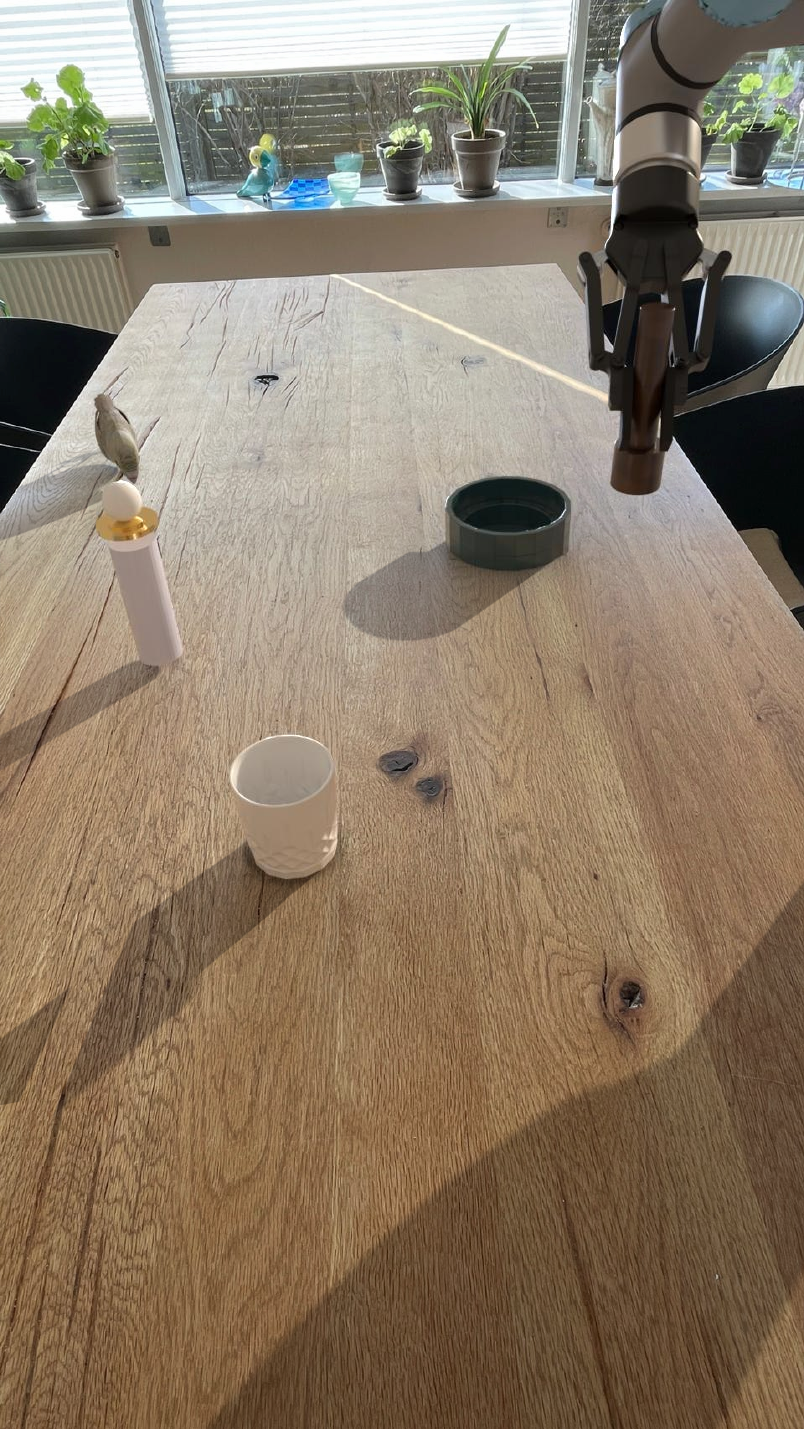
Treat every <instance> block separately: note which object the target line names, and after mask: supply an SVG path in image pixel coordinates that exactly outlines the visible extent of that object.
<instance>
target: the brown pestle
mask: <svg viewBox="0 0 804 1429" xmlns="http://www.w3.org/2000/svg"><path fill="white" fill-rule="evenodd" d="M674 312H675V307H674V306H673V305H671V304H669V303H664V302H662V301H650V302H645V303H643V304H641V305H640V307H639V314H638V316H639V317H638V323H637V333H636V340H635V350H634V359H633V366H634V377H633V400H632V424H631V441H630V444H629V447H628V450H627V451H619V437H617V438H616V439H615V441H614V444H613V454H612V463H611V471H610V482H609V484H610V486H611V488H612V489H613V490H614V491H616V492H618V493H620V494H625V495H629V496H647V495H650V494H653V493H656V492H658V490H659V489H660V488H661V484H662V478H663V477H662V476H663V471H664V464H665V458H666V457H665V456H666V452H659V444H660V436H659V437H658V435H659V428H660V418H661V405H662V398H663V391H664V383H665V376H666V369H667V367H668V363H669V362H668V361H669V348H670V341H671V334H672V326H673V319H674Z"/></svg>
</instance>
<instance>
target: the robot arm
mask: <svg viewBox="0 0 804 1429" xmlns="http://www.w3.org/2000/svg"><path fill="white" fill-rule="evenodd" d="M619 43H620V44H619V50H618V54H617V58H616V63H617V64H616V66H615V70H616V73H615V77H616V93H615V94H616V95H615V98H616V100H615V126H614V127H615V130H614V131H615V133H614V153H613V172H612V174H613V175H612V188H613V191H612V196H611V197H612V198H611V218H610V234H609V237H608V239H607V240H606V242H605V244H604V248H603V249H600V250H598V251H596V252H593V253H591V252H589V251H583V252H580V254H579V255H578V260H577V269H576V276H577V278H578V280H579V282H580V285H581V287H582V289H583V292H584V304H585V305H584V306H585V320H586V323H585V324H586V340H587V354H588V355H587V356H588V357H587V358H588V367H589V369H590V370H591V371H593V372H597V371H601V372H603V373H605V374H606V375H607V377H608V393H607V396H608V397H607V407H608V409H609V412H619V429H618V430H619V434H618V438H619V451H627V450H628V447H629V444H630V441H631V424H632V400H633V377H634V365H633V366H632V365H631V366H627V365H626V361H627V355H628V352H629V345H630V341H631V335H632V331H633V324H634V319H635V314H636V309H637V304H638V299H639V295H645V294H647V293H648V294H649V293H653V294H656V295H660V299H661V301H660V302H664V303H669V304H671V305H673V306H674V307H675V312H674V319H673V326H672V334H671V341H670V348H669V355H668V361H669V362H668V363H669V366H667V369H666V376H665V383H664V391H663V398H662V405H661V413H660V420H659V438H660V444H659V452H665V453H668V452H669V450H670V448H671V446H672V444H673V441H674V424H675V422H674V421H675V412H676V413H677V412H678V413H681V412H683V410H684V407H685V406H686V403H687V401H688V385H689V374H690V373H693V372H697V373H698V372H702V371H704V370H705V369H706V367H707V365H708V363H709V360H710V358H711V355H712V351H713V345H714V336H715V331H716V330H715V329H716V323H717V316H718V307H719V301H720V294H721V287H722V282H723V280H724V278H725V276H726V274H727V272H728V269H729V267H730V264H731V262H732V259H733V255H732V254H733V253H731V251H729V250H726V249H725V250H721V251H720V252H719V253H717V252H715V251H712V250H710V249H708V248H707V247H705V243H704V240H703V237H702V236H701V234H700V230H699V219H700V196H701V195H700V194H701V191H700V190H701V188H700V186H701V185H700V179H701V168H702V165H701V164H702V136H703V116H704V114H703V113H704V102H705V99H706V97H707V95H708V94H709V93H710V91H712V89H714V87H715V86H716V85H717V84H719V82H720V81H722V79H723V78H724V77H725V76H726V75H727V74H728V72H730V71H731V69H732V68H733V67H734V66H735V65H736V63H738V61H739V60H740V59H741V58H742V57H743V56H745V55H746V54H748V53H750V52H758V51H767V50H774V49H781V48H782V49H783V48H792V47H802V46H804V0H648V1H647V3H646V4H644V5H643V6H642V7H636V8H635V9H634V10H633V11H632V13H631V14H630V15H629V16H628V18H627V19H626V21H625V23H624V25H623V27H622V30H621V35H620V42H619ZM696 265H699V267H700V272H699V276H700V278H701V279H702V281H703V282H704V285H703V288H702V292H701V297H700V303H699V310H698V311H699V312H698V318H697V325H696V333H695V339H694V346H693V351H689V340H688V332H687V325H686V315H685V307H684V306H685V305H684V297H683V281H684V280H685V278H686V277H687V276H688V275H689V273H690V272H691V271H692V270H693V268H695V266H696ZM606 266H608V267H609V268H610V270H611V271H612V273H613V274H614V275H615V277H616V278H617V279H618V281H619V282H620V284H621V285H622V287H624V292H623V296H622V302H621V307H620V313H619V318H618V323H617V326H616V327H617V328H616V334H615V338H614V344H613V347H612V348H613V349H612V351H608V350H606V345H605V344H606V342H605V330H604V329H605V328H604V313H603V310H604V309H603V295H602V294H603V293H602V279H603V278H604V275H605V270H606V268H605V267H606Z"/></svg>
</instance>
